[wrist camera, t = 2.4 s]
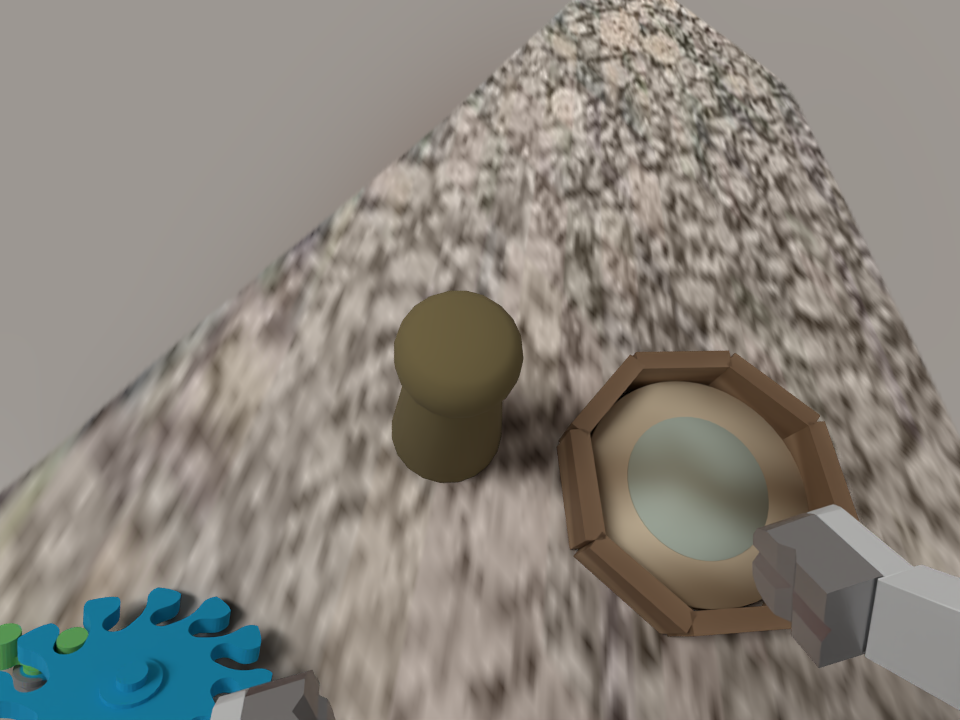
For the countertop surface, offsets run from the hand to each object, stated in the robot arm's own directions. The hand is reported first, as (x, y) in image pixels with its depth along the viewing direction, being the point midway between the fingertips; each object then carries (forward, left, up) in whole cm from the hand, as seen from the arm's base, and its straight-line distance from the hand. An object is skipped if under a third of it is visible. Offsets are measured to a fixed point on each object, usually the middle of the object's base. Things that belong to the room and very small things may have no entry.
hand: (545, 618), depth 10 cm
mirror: (+6, -13, -19) cm, 24 cm away
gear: (-1, +14, -19) cm, 24 cm away
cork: (+10, 0, -19) cm, 22 cm away
